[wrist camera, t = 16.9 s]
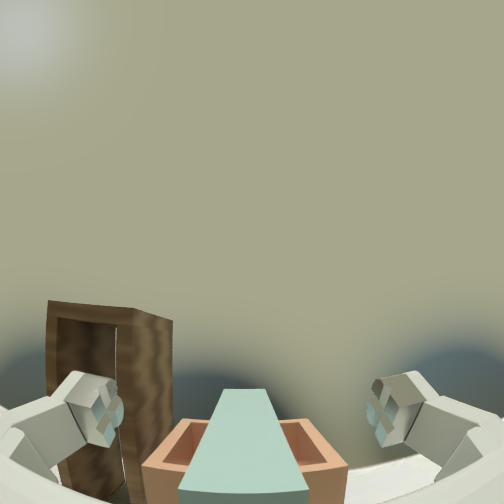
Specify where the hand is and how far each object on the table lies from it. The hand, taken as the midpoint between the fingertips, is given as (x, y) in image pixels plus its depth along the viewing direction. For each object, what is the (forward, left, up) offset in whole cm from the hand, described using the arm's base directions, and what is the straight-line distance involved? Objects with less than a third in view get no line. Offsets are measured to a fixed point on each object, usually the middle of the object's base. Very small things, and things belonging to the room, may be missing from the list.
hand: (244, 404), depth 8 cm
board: (-8, +8, -6) cm, 13 cm away
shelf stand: (-25, +5, -22) cm, 34 cm away
